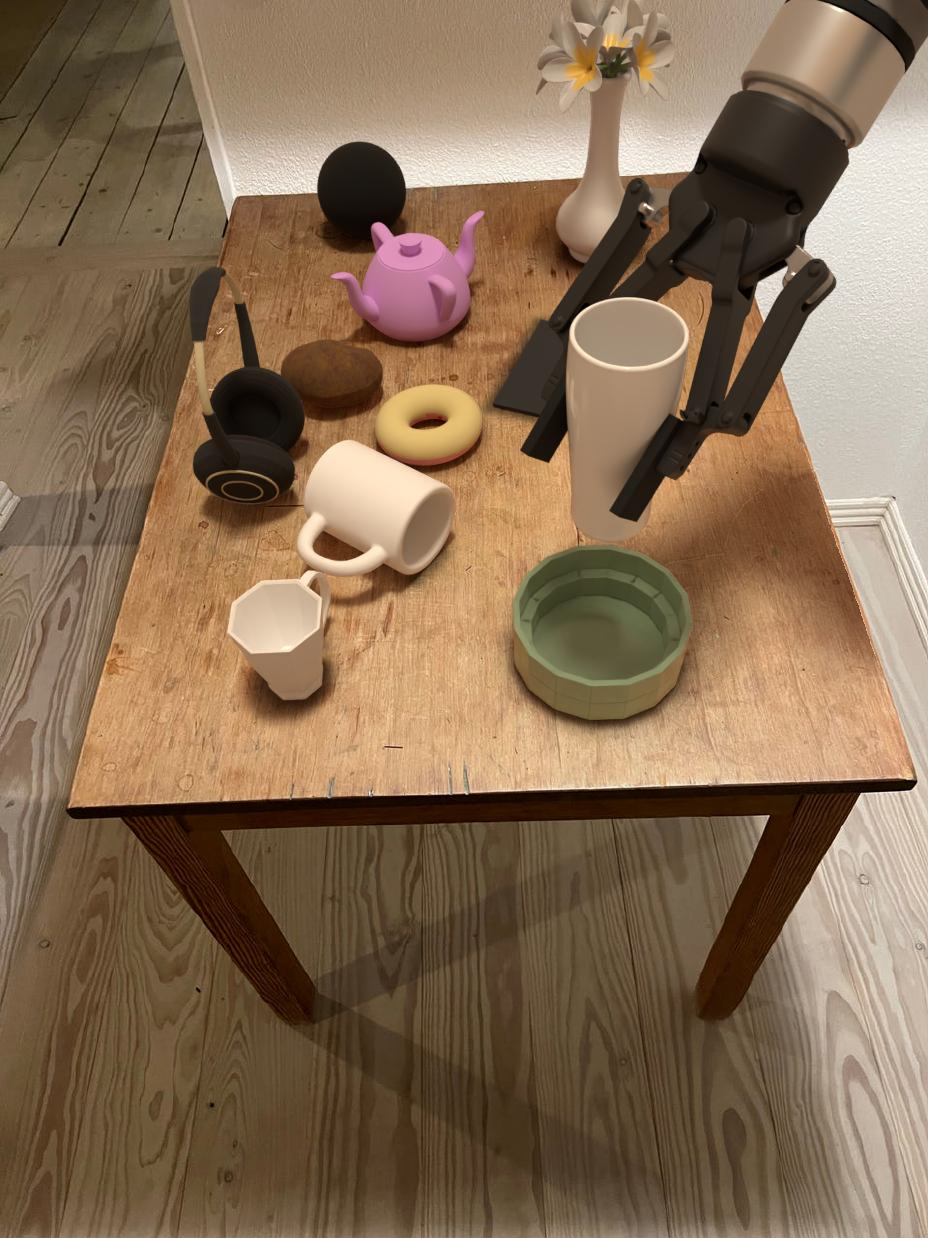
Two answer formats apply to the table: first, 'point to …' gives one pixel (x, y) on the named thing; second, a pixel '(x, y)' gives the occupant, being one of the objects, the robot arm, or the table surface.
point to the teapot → (414, 283)
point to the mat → (531, 373)
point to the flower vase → (602, 101)
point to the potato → (332, 373)
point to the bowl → (600, 631)
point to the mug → (374, 512)
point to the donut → (432, 442)
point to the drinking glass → (618, 402)
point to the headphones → (242, 411)
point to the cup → (283, 632)
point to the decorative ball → (361, 189)
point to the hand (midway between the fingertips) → (577, 485)
